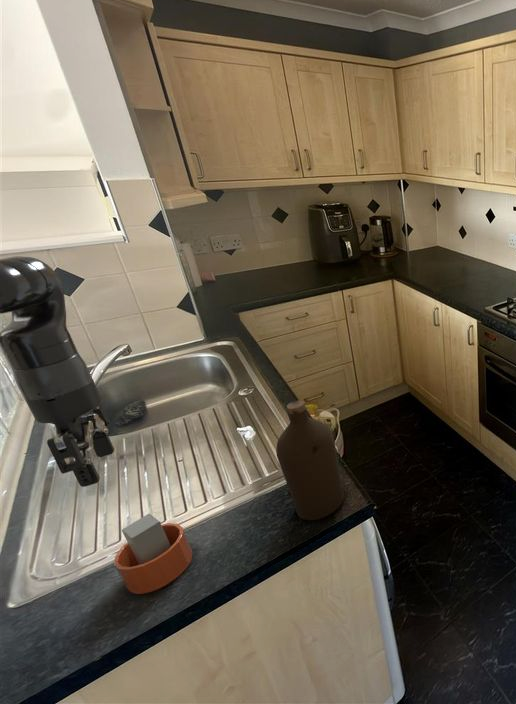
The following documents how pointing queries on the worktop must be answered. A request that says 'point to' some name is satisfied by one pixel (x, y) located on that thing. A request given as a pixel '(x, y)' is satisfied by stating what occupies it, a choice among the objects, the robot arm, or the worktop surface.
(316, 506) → the olive oil
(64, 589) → the worktop surface
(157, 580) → the bowl
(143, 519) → the block
